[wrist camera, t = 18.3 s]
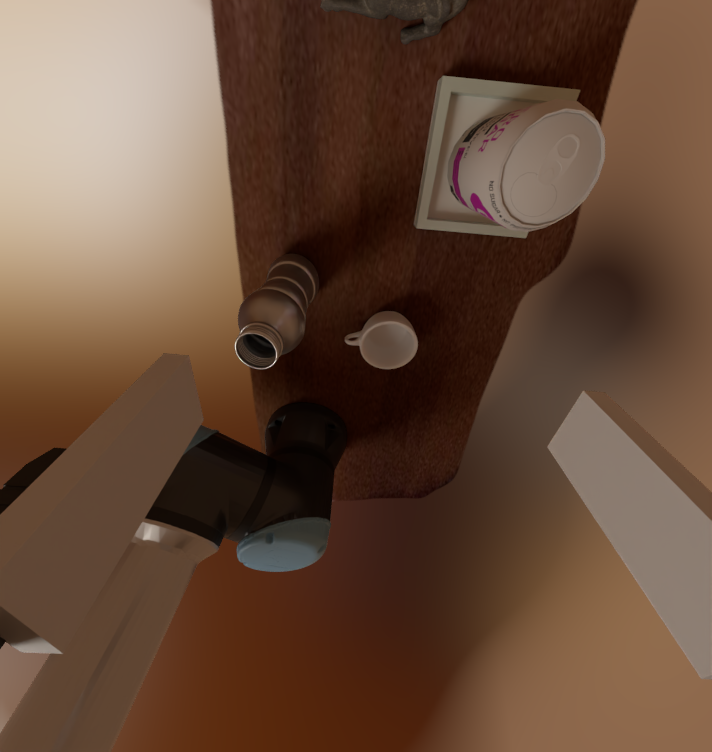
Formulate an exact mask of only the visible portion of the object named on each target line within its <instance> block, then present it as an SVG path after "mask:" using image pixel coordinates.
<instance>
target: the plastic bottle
mask: <svg viewBox="0 0 712 752" xmlns="http://www.w3.org/2000/svg"><path fill="white" fill-rule="evenodd" d="M318 290H319V278H318V273H317V271H316V269H315V267H314V265H313V264H312V263H311V262H310V261H309V260H308V259H307V258H305V257H303V256H301V255H298V254H286V255H283V256H281V257H279V258H277V259H276V260H275V261H274V262H273V263H272V264H271V266H270V269H269V271H268V275H267V280H266V282H265V283H264V284H263V285H262V287H261V288H259V289H258V290H256V291H255V292H253V293H252V294H250V295H249V296H248V297H247V298H246V299H245V300H244V301H243V303H242V304H241V306H240V309H239V314H238V325H239V329H240V333H239V336H238V337H237V339H236V342H235V352H236V354H237V356H238V358H239V359H240V360H241V361H242V362H243V363H244V364H246V365H247V366H249V367H251V368H254V369H268V368H270V367H272V366H273V365H274V364H275V363H276V361H277V360H278V358H279V357H280V355H283V354H286V353H289V352H290V351H292V350H293V349H294V348H295V347H297V346H298V345H299V344H300V342H301V340H302V339H303V336H304V332H305V320H306V311H307V307H308V305H309V304H310V303H311V302H312V301H313V300H314V298H315V297H316V295H317V293H318Z"/></svg>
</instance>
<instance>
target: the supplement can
mask: <svg viewBox="0 0 712 752" xmlns="http://www.w3.org/2000/svg"><path fill="white" fill-rule="evenodd" d="M604 160H605V137H604V135H603V132H602V130H601V127H600V125H599V122H598V121H597V120H596V119H595V117H594V114H593V113H592V112H590V111H589V110H588V109H587V108H585V107H584V106H583V105H582V104H580V103H579V102H577V101H570V100H563V99H554V100H551V101H547V102H544V103H540V104H537V105H533V106H530V107H526V108H522V109H519V110H515V111H512V112H508V113H505V114H501V115H497V116H494V117H491V118H487V119H484V120H481V121H478V122H477V123H475V124H474V125H473V126H471V127H470V128H469V129H467V130H466V131H465V132H464V133H463V135H462V136H461V137H460V139H459V140H458V141H457V143H456V144H455V146H454V148H453V151H452V153H451V156H450V159H449V161H448V173H447V179H448V183H449V187H450V191H451V193H452V194H453V196H454V197H455V198H456V200H457V201H458V202H459V203H461V204H462V205H464V206H466V207H467V208H469V209H471V210H473V211H475V212H477V213H479V214H481V215H482V216H484V217H486V218H488V219H490V220H492V221H494V222H496V223H498V224H499V225H501V226H503V227H505V228H507V229H509V230H514V231H522V232H529V231H533V230H538V229H542V228H546V227H547V226H549V225H551V224H553V223H556V222H557V221H559V220H561V219H562V218H564V217H566V216H567V215H569V214H571V213H572V212H573V211H574V210H575V209H576V208H577V207H578V206H579V205H580V204H581V203H582V202H583V201H584V200H585V199H586V198H587V197H588V195H589V193H590V192H591V190H592V189H593V187H594V185H595V184H596V182H597V181H598V179H599V176H600V172H601V169H602V166H603V163H604Z"/></svg>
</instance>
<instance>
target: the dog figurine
mask: <svg viewBox="0 0 712 752" xmlns="http://www.w3.org/2000/svg"><path fill="white" fill-rule="evenodd" d="M467 2H468V0H322V2H321V8H322V9H324V10H325V11H328V12H329V11H331V10H334V11H336V12H339V11H341V10H346V11H350V12H353V13H358V14H362V15H365V16H367V17H370V18H376V19H385V18H386V17H387V16H388V15H393V16H395V17H397V18H399V19H402V20H408V21H409V20H415V19H419V18H423V21H424V23H423V24H421V25H417V26H414V27H412V28H404V29H402V30H401V42H402V43H403V44H408V43H409V42H410V41H412V40H419V39H422V38H425V37H429V36H434V35H436V34H438V33H439V32H440V30H441V27H442V24H443V23H444V22H446V21H448V20H450V19H451V18H452V17H454V16H456V15H457V14H458V13H459V12H461V11H462V10H463V9H464V7H465V6H466V4H467Z"/></svg>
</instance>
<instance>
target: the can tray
mask: <svg viewBox="0 0 712 752" xmlns="http://www.w3.org/2000/svg"><path fill="white" fill-rule="evenodd" d="M579 93H580V90H577V89H568V88H558V87H548V86H538V85H529V84H519V83H509V82H500V81H490V80H480V79H470V78H461V77H451V76H442V77H441V78H440V79H439V80H438V83H437V89H436V95H435V101H434V107H433V113H432V119H431V125H430V131H429V137H428V143H427V149H426V154H425V160H424V166H423V172H422V178H421V184H420V190H419V196H418V202H417V208H416V214H415V220H414V225H415V227H416V228H418V229H430V230H441V231H452V232H463V233H475V234H486V235H497V236H508V237H520V238H526V237H527V234H528V232H522V231H514V230H509V229H507V228H505V227H503V226H501V225H499V224H498V223H496V222H494V221H492V220H490V219H488V218H486V217H484V216H482V215H481V214H479V213H477V212H475V211H473V210H471V209H469V208H467V207H466V206H464V205H462V204H461V203H459V202H458V201H457V200H456V198H455V197H454V196H453V194H452V193H451V191H450V187H449V183H448V179H447V173H448V161H449V159H450V156H451V153H452V151H453V148H454V146H455V144H456V143H457V141H458V140H459V139H460V137H461V136H462V135H463V133H464V132H465V131H466V130H467V129H469V128H470V127H471V126H473V125H474V124H475V123H477V122H478V121H481V120H484V119H487V118H491V117H494V116H497V115H501V114H505V113H508V112H512V111H515V110H519V109H522V108H526V107H530V106H533V105H537V104H540V103H544V102H547V101H551V100H554V99H563V100H570V101H577V98H578V96H579Z"/></svg>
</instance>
